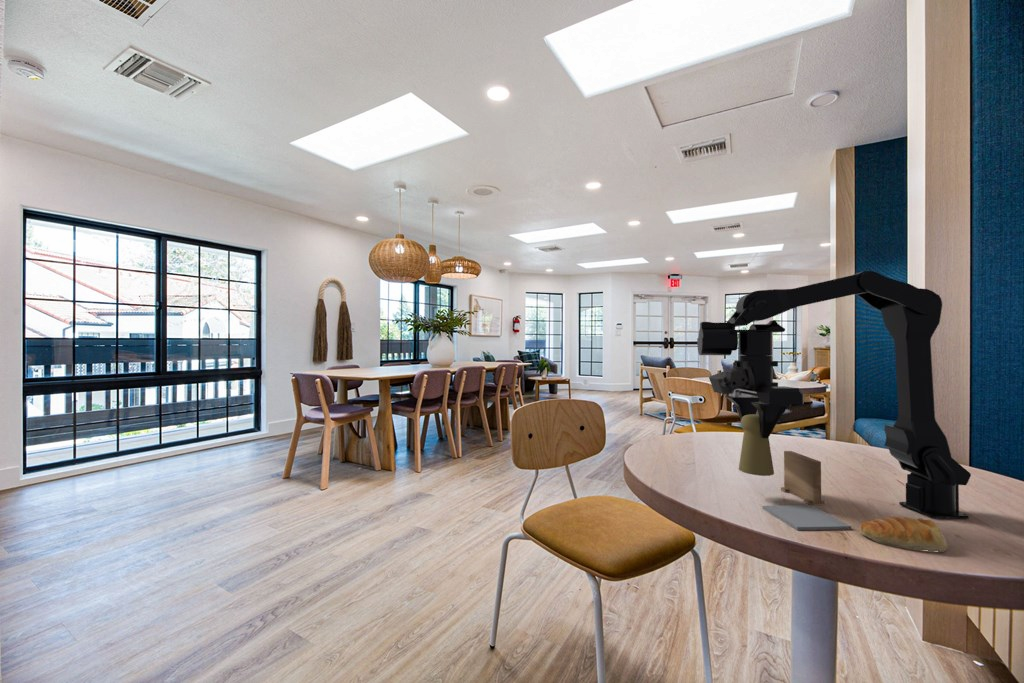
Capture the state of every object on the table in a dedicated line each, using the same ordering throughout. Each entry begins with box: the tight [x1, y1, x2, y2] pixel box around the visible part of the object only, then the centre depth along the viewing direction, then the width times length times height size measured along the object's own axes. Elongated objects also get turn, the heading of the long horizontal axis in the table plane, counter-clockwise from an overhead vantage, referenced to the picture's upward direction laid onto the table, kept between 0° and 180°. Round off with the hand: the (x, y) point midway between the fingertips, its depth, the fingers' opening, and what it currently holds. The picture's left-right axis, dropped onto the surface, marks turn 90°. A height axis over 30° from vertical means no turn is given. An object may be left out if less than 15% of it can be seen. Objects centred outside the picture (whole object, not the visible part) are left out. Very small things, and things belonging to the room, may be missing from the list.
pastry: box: [859, 515, 948, 553], centre depth 64 cm, size 9×7×4 cm
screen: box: [780, 450, 826, 506], centre depth 82 cm, size 3×8×8 cm, turn 2°
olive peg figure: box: [738, 413, 775, 477], centre depth 82 cm, size 6×6×11 cm
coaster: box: [761, 504, 853, 531], centre depth 72 cm, size 9×9×1 cm
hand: (756, 435), depth 82 cm, fingers closed on olive peg figure, 5 cm apart
